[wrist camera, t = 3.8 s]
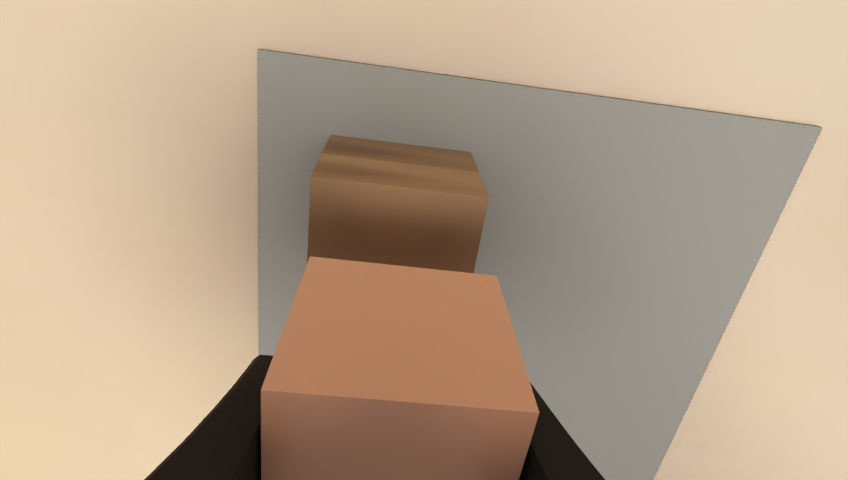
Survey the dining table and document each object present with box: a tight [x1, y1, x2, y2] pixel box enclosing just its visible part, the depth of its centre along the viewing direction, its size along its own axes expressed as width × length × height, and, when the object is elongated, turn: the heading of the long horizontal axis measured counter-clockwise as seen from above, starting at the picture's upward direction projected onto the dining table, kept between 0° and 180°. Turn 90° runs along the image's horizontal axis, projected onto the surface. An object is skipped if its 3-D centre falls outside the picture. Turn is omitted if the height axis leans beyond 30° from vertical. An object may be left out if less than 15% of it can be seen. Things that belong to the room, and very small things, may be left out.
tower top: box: [307, 153, 489, 273], centre depth 16 cm, size 5×5×2 cm
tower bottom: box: [322, 135, 479, 172], centre depth 18 cm, size 5×5×2 cm
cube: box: [261, 256, 539, 480], centre depth 10 cm, size 4×4×4 cm
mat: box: [258, 49, 822, 480], centre depth 22 cm, size 20×20×1 cm
